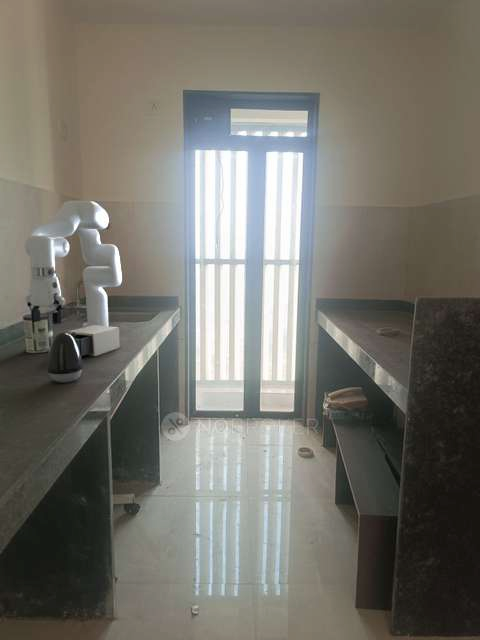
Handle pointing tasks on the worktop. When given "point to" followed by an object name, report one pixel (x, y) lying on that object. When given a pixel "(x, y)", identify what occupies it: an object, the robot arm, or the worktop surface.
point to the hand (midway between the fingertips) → (46, 322)
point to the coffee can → (38, 333)
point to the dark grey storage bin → (82, 344)
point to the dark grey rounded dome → (64, 359)
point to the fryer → (100, 338)
